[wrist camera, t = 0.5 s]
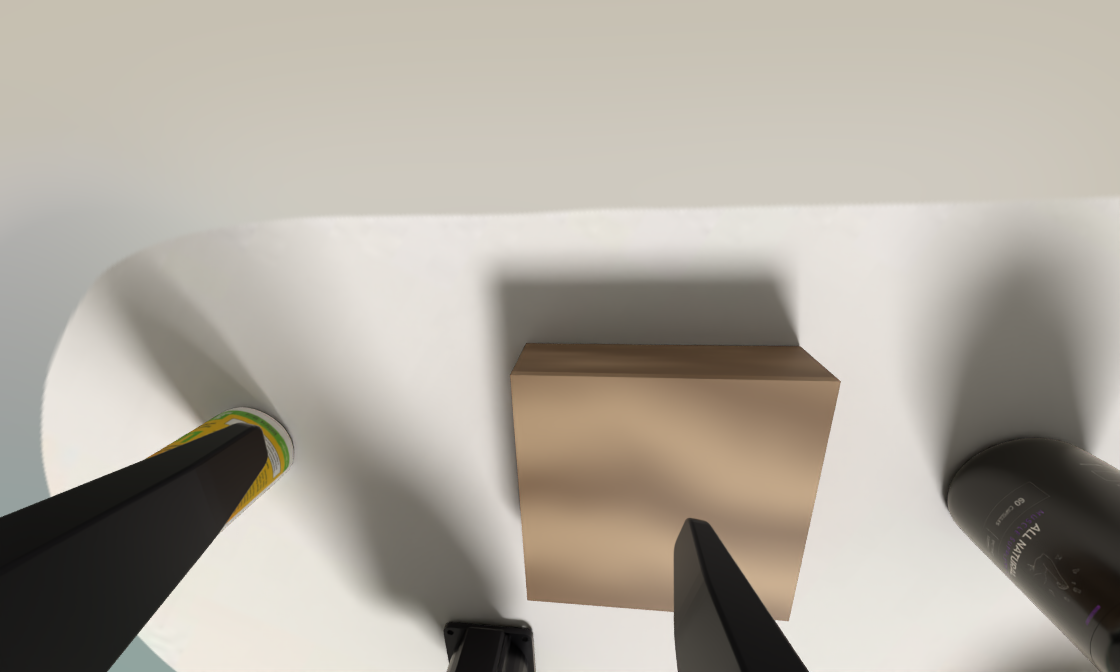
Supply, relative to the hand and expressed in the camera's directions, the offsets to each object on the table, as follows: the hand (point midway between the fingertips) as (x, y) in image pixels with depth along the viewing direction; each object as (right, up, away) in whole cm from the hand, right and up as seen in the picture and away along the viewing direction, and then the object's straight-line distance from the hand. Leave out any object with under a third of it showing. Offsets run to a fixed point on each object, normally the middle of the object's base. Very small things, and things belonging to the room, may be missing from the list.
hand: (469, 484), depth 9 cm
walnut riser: (+7, -4, +16) cm, 18 cm away
